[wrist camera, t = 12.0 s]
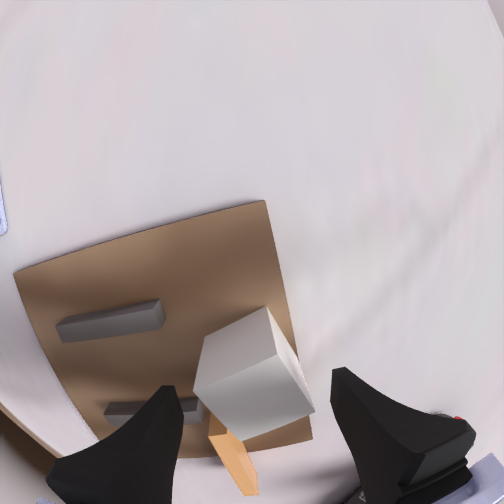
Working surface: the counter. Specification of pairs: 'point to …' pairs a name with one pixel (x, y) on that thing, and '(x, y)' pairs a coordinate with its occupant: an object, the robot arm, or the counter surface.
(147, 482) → the robot arm
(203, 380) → the white block
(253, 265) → the base board
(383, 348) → the counter surface
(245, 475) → the bar
